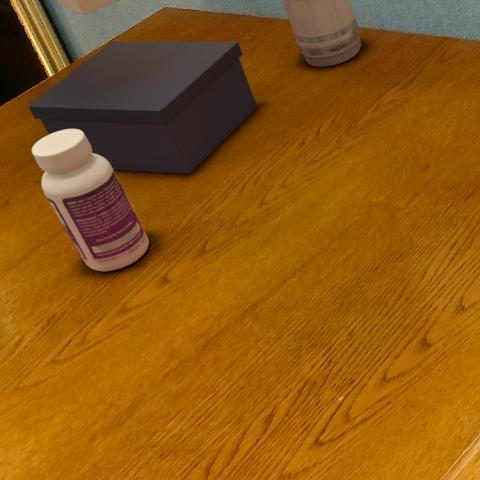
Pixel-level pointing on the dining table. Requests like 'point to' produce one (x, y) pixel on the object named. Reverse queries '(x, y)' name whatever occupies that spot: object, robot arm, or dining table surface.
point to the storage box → (152, 103)
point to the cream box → (85, 5)
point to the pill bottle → (89, 201)
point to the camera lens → (324, 30)
